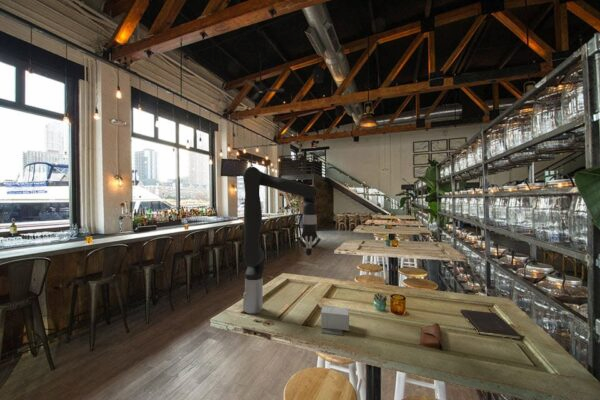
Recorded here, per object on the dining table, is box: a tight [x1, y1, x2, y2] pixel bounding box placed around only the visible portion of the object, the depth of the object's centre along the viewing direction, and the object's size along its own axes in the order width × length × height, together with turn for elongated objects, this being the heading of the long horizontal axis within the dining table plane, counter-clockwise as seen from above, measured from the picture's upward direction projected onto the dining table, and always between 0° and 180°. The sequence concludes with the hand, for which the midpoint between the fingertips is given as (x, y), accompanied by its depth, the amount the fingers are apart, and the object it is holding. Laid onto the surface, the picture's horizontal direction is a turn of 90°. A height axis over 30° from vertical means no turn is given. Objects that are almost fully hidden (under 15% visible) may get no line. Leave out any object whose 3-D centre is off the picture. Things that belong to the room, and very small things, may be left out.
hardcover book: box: [460, 309, 522, 338], centre depth 125 cm, size 16×23×2 cm
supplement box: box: [320, 305, 350, 331], centre depth 120 cm, size 7×7×13 cm
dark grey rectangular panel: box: [321, 328, 344, 336], centre depth 121 cm, size 9×15×1 cm, turn 169°
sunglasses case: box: [419, 322, 443, 351], centre depth 112 cm, size 18×7×7 cm
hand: (309, 255), depth 139 cm, fingers closed
